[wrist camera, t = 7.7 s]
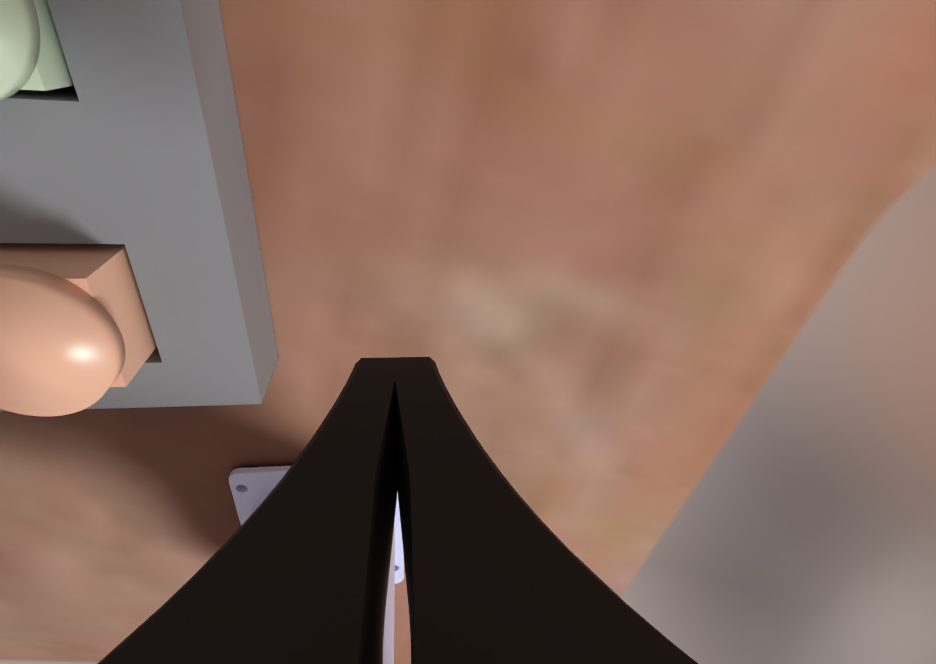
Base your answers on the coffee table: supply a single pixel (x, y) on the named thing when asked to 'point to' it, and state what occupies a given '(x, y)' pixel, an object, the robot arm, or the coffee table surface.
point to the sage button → (30, 49)
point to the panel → (150, 190)
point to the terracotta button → (68, 326)
